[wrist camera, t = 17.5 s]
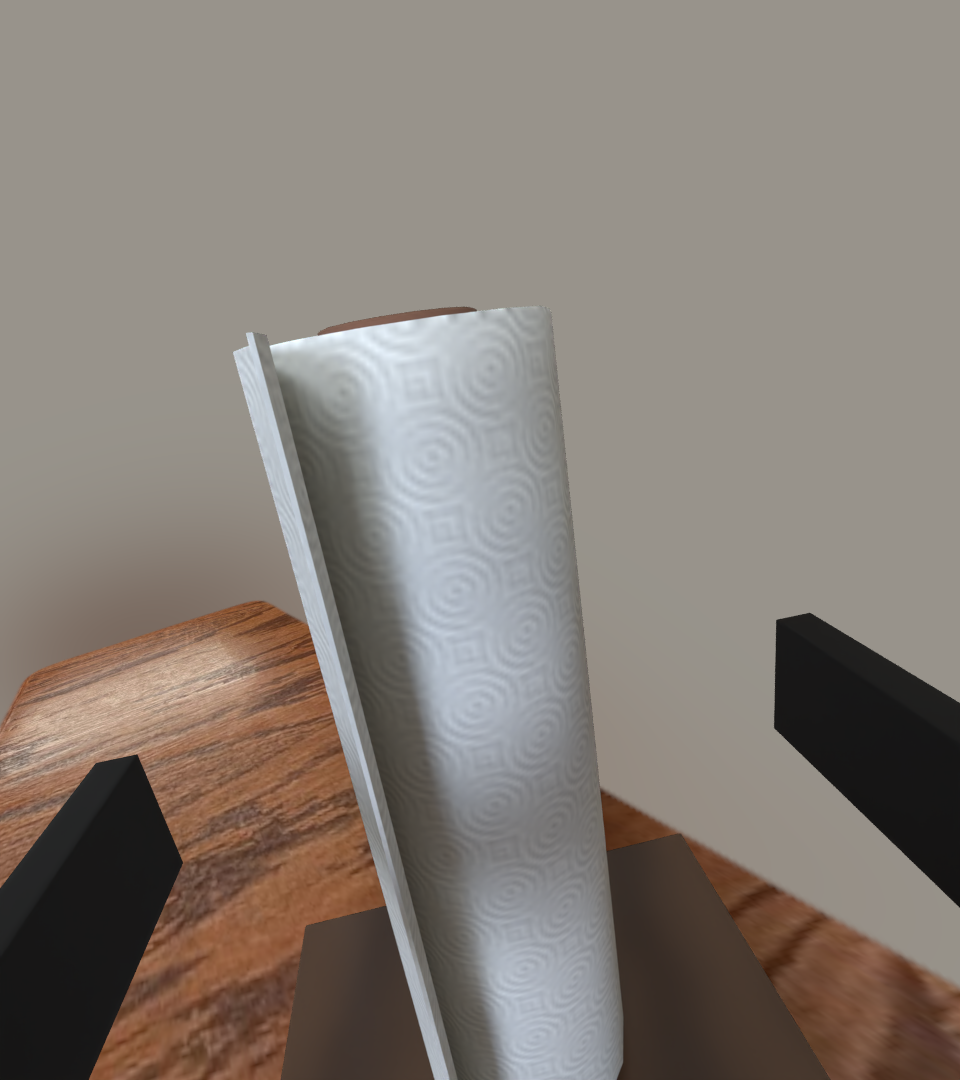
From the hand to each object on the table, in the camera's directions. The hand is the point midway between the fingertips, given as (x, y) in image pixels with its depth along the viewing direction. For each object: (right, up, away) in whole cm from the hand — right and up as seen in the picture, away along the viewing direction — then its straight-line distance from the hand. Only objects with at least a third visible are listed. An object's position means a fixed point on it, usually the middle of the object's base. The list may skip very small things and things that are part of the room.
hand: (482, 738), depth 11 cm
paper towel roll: (+1, -12, +6) cm, 13 cm away
